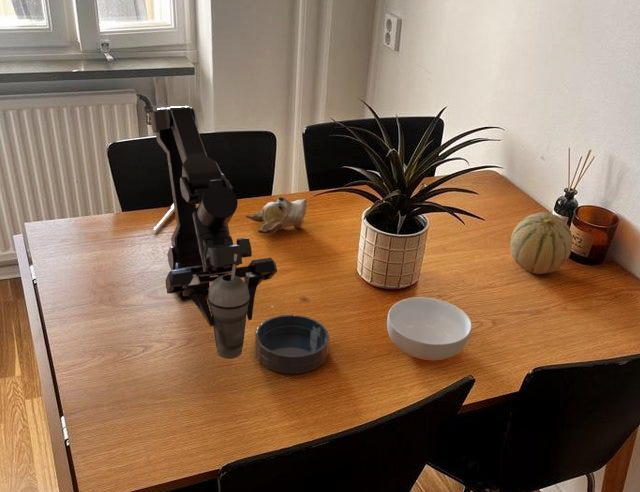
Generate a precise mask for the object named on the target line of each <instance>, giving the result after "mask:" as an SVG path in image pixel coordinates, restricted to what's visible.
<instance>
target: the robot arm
mask: <svg viewBox="0 0 640 492" xmlns="http://www.w3.org/2000/svg"><path fill="white" fill-rule="evenodd" d="M198 124H199V123H198V115H197V109H194V107H191V106H187V105H185V106H170V107H157V108H156V109H155V111H154V112H152V113H151V114H150V125H151V131H152V132H153V133H155V139H156V142H157V143H158V145H159V146H160V147H161V149H162V150H163V151H164V152H165V153H166V158H167V165H168V171H169V179H170V186H171V194H172V200H173V203H174V208H175V211H174V215H175V222H176V226H175V229H174V231H173V233H172V235H171V237H170V243H171V246H169V248H168V251H167V254H166V255H167V262H168V263H167V264H168V266H169V268H170V271H169V272H168V273H167V275H166V278H165V287H166V293H167V294H176V295H177V296H178V298H179V299H180V300H181V301H185V300H186V301H187V300H191V302H193V303H194V305H195V306H196V307H197V309H198V310H199V311H200V313H201V314H202V316H203V318H204V319H205V321H206V322H207V324H208V325H209V327H211V328H213V320H212V313H211V310H210V306H209V302H208V298H207V297H208V292H209V289H210V286H211V284H210V283H213V281H214V280H215V279H216V278H218V277H219V276H222V275H225V274H232V267H233V264H235V265H236V269H235V275H236V276H238V277H239V278H241V279H242V278H243V281H244V282H245V283H246V285H247V287H248V291H249V295H250V301H249V305H248V309H247V314H246V318H247V321H252V319H253V313H254V306H255V296H256V292H257V290H258V289H257V288H258V286H259V285H260V284H261V283H262V282H263V281H267V280H271V279H272V278H273V277H274V276H275V275H276V274H277V273H278V269H277V263H276V261H275V260H274V259H273V258H272V257H266V258H264V257H263V258H257V259H252V260H251V261H250V262H249V264H248V265H247V266H246V265H245V266H240V265H243V258H250V257H251V258H252V255H253V251H252V245H251V241H250V237H241V238H237V239H236V243H234V241H233V238H232V236H231V233H230V229H229V223H230V222H231V220H232V219H233V216H234V215H235V212H236V211H237V208H238V202H239V201H238V197H237V196H236V194H235V192H234V187H233V186H232V184H231V183H230V182H229V180H228V179H227V177H226V176H225V174H224V173H222V171H221V168H220V167H219V165H218V163H217V161H216V160H214V159H212V158H210V157H209V156H208V155H207V152H206V149H205V146H204V143H203V141H202V138H201V135H200V132H199V125H198ZM196 203H198V206H197V204H196ZM234 254H237V260H236V261H234ZM237 266H239V267H237Z"/></svg>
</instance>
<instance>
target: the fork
mask: <svg viewBox="0 0 640 492" xmlns="http://www.w3.org/2000/svg"><path fill="white" fill-rule="evenodd" d="M173 213H175V208H174V202H173V203H172V204H171V205H170V209H169V210H168V211H167V213H165V215H164V216H163V217H162V218H161V220H160V221H159V222H158V223H157V224H156V226H154V227H153V229H152V232H154V233H155V232H157V231H158V230H159V229H160V228H161V226H163V224H165V222H166V221H167V220H168V219H169V217H171V216H172V215H173Z"/></svg>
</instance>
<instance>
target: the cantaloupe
mask: <svg viewBox="0 0 640 492" xmlns="http://www.w3.org/2000/svg"><path fill="white" fill-rule="evenodd" d="M509 243H510V253H511V256H512V259H513V260H514V262H515V263H516V264H517V266H519V267H520V268H522V269H523V270H524V271H526V272H529V273H532V274H535V275H543V274H549V273H552V272H555V271H557V270H558V269H560V268H561V267H562V266H564V264H565V263H566V262H567V261H568V259H569V257H570V255H571V252H572V249H573V234H572V230H571V228H570V226H569V224H568V223H566V221H565V220H564V219H563V218H562V217H560V216H559V215H557V214H554V213H550V212H544V211H542V212H541V211H540V212H535V213H532V214H529V215H527V216H526V217H524V218H523V219H522V220H521V221H520V222H519V223H517V225H516V226H515V227H514V229H513V231H512V234H511V237H510V241H509Z"/></svg>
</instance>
